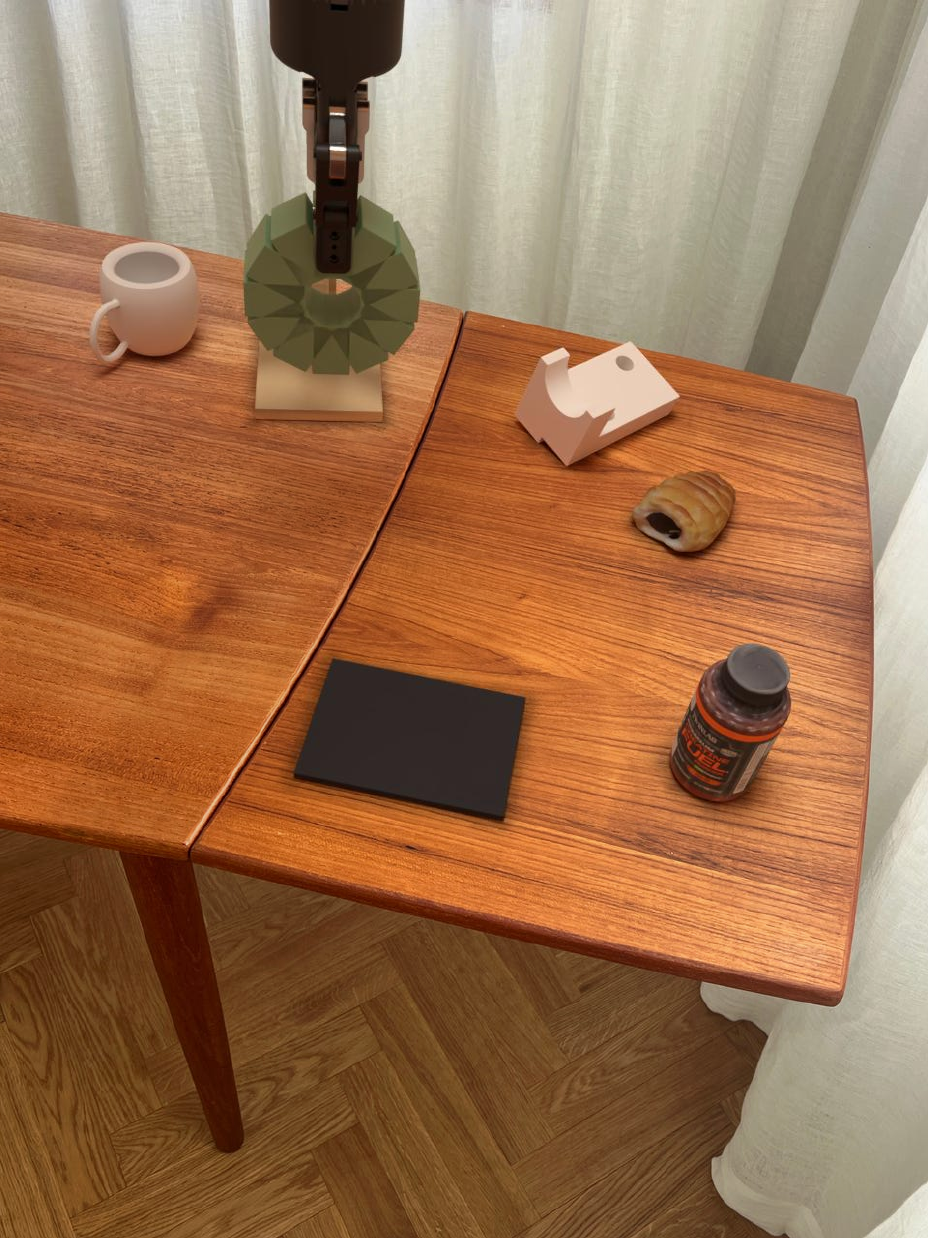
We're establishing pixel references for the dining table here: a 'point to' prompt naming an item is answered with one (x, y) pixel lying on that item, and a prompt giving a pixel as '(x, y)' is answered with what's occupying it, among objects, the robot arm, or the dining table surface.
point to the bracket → (592, 400)
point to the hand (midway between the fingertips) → (332, 250)
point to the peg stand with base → (316, 388)
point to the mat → (413, 739)
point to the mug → (146, 300)
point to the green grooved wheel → (330, 323)
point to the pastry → (686, 510)
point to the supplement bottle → (732, 723)
